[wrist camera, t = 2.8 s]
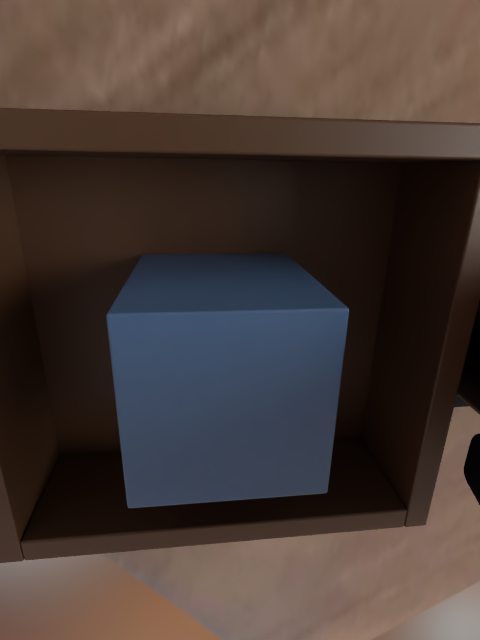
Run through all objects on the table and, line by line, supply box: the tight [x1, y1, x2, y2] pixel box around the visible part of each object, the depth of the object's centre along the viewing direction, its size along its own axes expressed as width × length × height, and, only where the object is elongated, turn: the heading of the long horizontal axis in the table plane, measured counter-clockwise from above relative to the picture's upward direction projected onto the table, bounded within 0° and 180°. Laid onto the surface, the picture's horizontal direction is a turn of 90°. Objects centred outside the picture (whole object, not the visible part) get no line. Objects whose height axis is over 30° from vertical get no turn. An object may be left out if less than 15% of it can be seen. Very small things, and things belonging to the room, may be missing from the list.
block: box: [106, 253, 349, 508], centre depth 12 cm, size 5×5×6 cm
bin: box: [0, 108, 480, 563], centre depth 13 cm, size 14×13×5 cm
